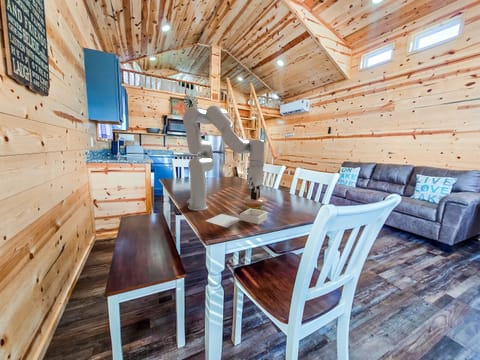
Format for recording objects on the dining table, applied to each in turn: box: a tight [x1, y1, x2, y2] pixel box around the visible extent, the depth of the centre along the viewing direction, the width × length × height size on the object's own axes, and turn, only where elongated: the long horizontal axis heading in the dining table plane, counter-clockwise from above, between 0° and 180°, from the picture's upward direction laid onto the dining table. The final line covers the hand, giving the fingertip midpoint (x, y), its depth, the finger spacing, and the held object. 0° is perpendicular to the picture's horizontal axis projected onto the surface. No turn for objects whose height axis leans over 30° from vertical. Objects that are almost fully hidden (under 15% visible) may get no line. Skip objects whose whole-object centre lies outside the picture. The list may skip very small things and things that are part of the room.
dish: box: [239, 208, 269, 225], centre depth 113 cm, size 11×11×4 cm
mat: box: [205, 213, 241, 228], centre depth 110 cm, size 14×14×1 cm
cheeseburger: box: [245, 202, 265, 211], centre depth 127 cm, size 10×11×10 cm
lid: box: [243, 189, 268, 204], centre depth 111 cm, size 12×12×6 cm
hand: (255, 198), depth 111 cm, fingers closed on lid, 3 cm apart
